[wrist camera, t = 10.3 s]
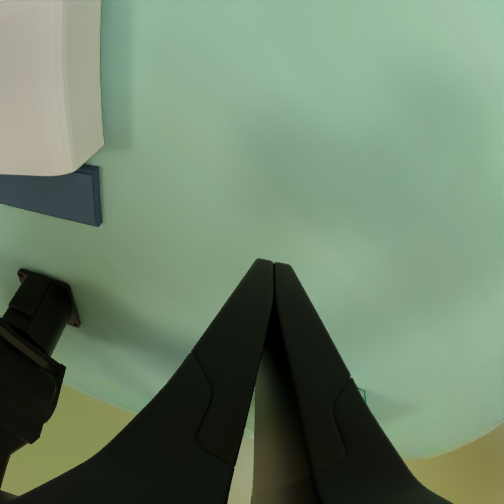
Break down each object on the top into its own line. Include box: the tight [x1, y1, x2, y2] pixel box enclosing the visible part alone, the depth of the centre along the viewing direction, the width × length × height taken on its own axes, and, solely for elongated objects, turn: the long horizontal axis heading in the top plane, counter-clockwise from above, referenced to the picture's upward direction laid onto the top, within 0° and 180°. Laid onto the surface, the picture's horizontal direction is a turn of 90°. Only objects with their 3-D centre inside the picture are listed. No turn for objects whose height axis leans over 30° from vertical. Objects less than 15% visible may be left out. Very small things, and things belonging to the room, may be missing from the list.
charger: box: [0, 0, 104, 176], centre depth 11 cm, size 5×9×15 cm
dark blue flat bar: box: [0, 165, 102, 227], centre depth 19 cm, size 4×15×1 cm, turn 77°
